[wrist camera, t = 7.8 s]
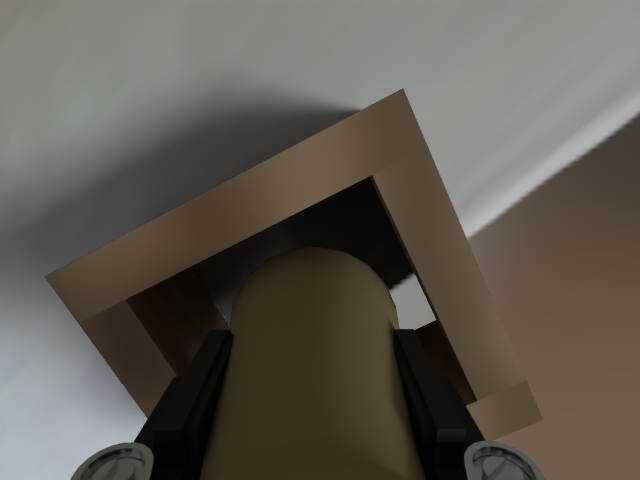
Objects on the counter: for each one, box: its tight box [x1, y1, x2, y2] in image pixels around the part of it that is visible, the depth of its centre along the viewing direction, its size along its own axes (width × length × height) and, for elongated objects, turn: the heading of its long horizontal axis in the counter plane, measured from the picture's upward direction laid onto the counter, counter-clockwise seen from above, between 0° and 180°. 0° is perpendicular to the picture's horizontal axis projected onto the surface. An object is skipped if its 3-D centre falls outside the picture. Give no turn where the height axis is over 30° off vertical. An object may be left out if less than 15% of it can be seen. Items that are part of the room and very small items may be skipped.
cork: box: [200, 247, 426, 480], centre depth 8 cm, size 6×6×11 cm
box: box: [45, 89, 543, 441], centre depth 16 cm, size 12×12×7 cm
